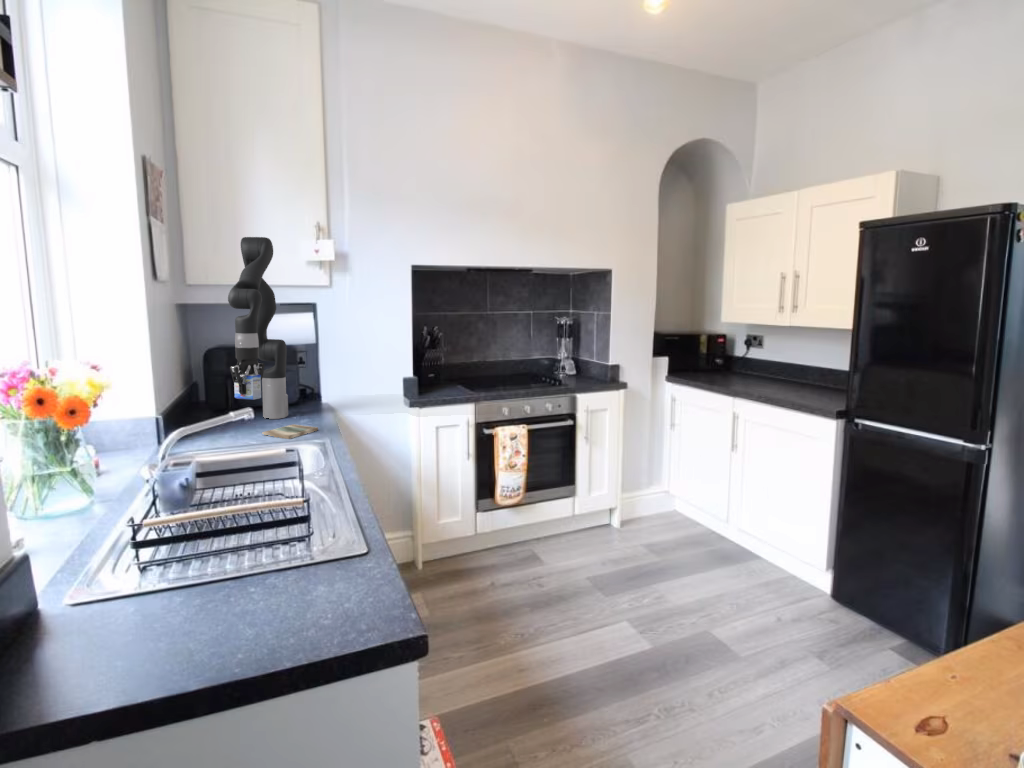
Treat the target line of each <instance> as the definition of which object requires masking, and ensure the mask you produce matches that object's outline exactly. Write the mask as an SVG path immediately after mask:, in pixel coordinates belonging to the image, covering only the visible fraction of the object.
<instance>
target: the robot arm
mask: <svg viewBox="0 0 1024 768" xmlns="http://www.w3.org/2000/svg"><path fill="white" fill-rule="evenodd" d="M240 251H241V257H242V262H243V266H244V268H243V269H242V270H241V273H240V276H239V278H238V279H239V280H238V281H237V282H236V283H235V284H234V285H233V286H232V287H231V289H230V290H229V292H228V297H227V302H228V304H229V305H230V307H231V308H232V309H236V310H249V312H248V314H244V315H239V316H236V317H235V319H234V328H235V330H234V331H235V333H234V335H235V336H234V344H235V345H234V347H235V348H234V349H235V359H236V360H237V363H236V365H233V366H231V365H230V367H229V371H230V374H231V378H232V381H233V384H234V383H238V384H239V393H240V394H242V395H245V394H246V384H245V382H246V378H247V377H248V375H249V374H255V375H261V393H262V418H263V417H264V418H263V419H266V418H269V419H268V420H278V419H285V418H287V417H288V416H289V395H288V394H287V382H286V381H287V378H286V375H287V374H286V373H287V356H288V355H287V352H288V351H287V343H286V342H285V340H283V339H277V338H275V339H274V338H272V339H271V338H268V336H267V334H268V333H267V330H268V327H269V325H270V323H271V321H272V320H273V317H274V316H275V314H276V313H277V304H276V303H277V302H276V296H275V292H274V290H273V288H272V287H271V286H270V285H269V284H268V282H267V281H266V280H265V279H264V278H263V276H264V274H265V272H266V270H267V269H268V267H269V266H270V264H271V262H272V259H273V257H274V246H273V241H272V240H271V239H270V238H268V237H265V236H263V237H262V236H261V237H260V236H244V237H242V238H241V240H240ZM258 360H260V361H262V362H274V365H273V366H272V367H270V368H266V369H265V366H266V365H265V363H260V362H259V361H258ZM242 374H244V375H242ZM236 377H237V378H236ZM242 377H243V379H242Z"/></svg>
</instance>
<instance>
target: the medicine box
mask: <svg viewBox="0 0 1024 768" xmlns="http://www.w3.org/2000/svg"><path fill="white" fill-rule="evenodd" d="M242 375H244V374H242ZM236 378H237V377H236ZM242 379H243V377H242ZM233 384H234V385H233V387H234V390H233V391H234V398H235V399H238V400H250V401H251V400H252V401H253V400H259V399H261V398H262V380H261V375H260V374H259V375H255V374H249V375H248V377H247V378H246V382H245V384H246V394H245V395H242V394H240V393H239V384H238V383H234V382H233Z"/></svg>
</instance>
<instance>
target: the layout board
mask: <svg viewBox="0 0 1024 768" xmlns="http://www.w3.org/2000/svg"><path fill="white" fill-rule="evenodd" d="M317 430H318V431H319V427H316V426H310V425H309V426H308V425H301V424H295V423H294V424H289V425H285V426H281V427H277V428H274V429H270V430H265V431H262V432H261V433H262V434H264V435H270V436H274V437H273V438H278V437H279V439H287V440H290V439H293V438H297V437H301V436H303V435H307V433H308V434H310V433H314V431H315V432H317ZM270 436H269V437H270Z"/></svg>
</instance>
